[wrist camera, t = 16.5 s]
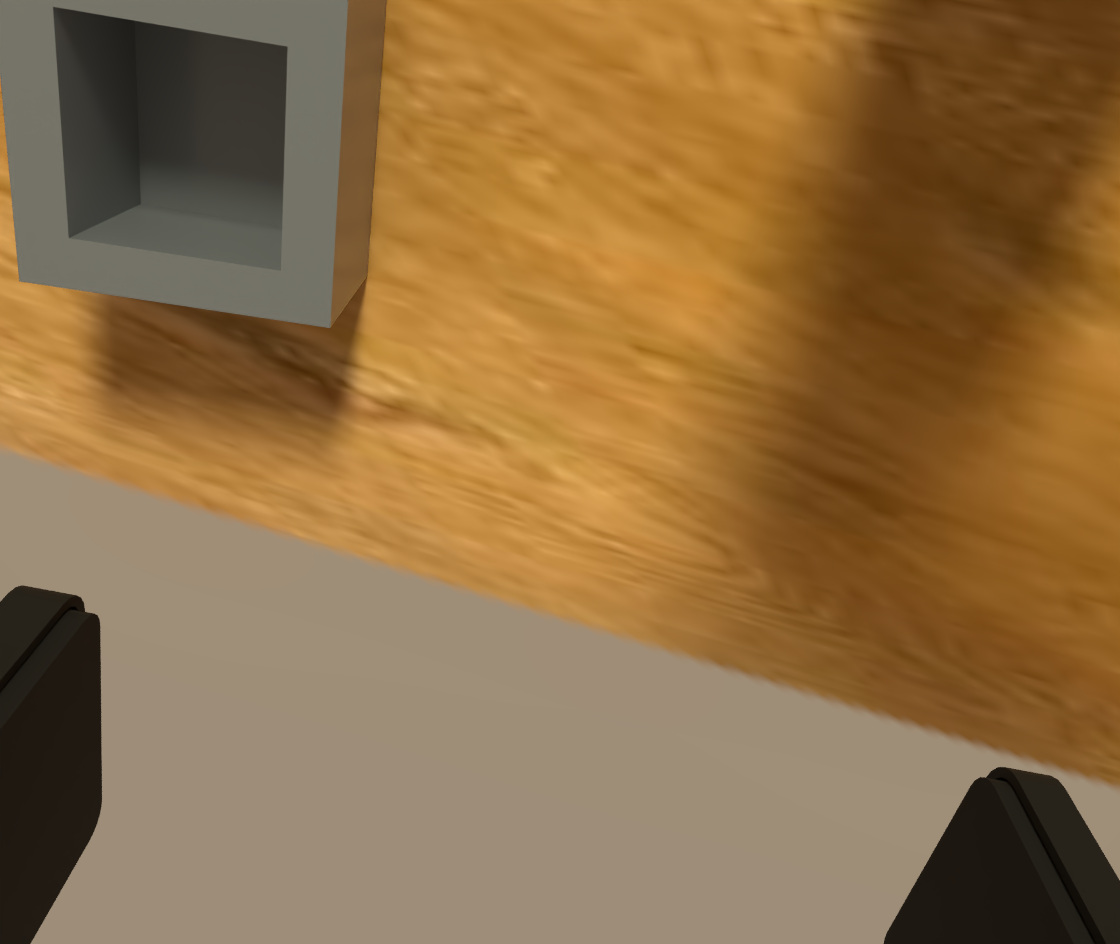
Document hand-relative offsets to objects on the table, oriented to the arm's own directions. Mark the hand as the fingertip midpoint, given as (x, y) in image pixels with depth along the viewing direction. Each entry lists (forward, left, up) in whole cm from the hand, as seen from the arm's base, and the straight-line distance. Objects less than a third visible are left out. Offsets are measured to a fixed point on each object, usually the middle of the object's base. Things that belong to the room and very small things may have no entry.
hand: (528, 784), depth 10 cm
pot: (-2, -11, -26) cm, 28 cm away
